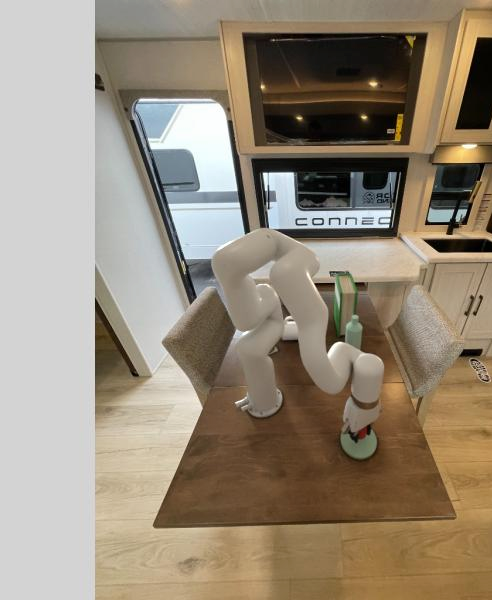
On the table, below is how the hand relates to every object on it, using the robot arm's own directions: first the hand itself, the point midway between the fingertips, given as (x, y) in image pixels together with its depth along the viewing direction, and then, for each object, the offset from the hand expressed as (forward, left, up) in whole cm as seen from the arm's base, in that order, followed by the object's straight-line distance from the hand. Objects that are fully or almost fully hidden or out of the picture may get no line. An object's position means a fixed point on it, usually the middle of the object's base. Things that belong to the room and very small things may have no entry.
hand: (360, 434), depth 79 cm
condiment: (-10, +53, -4) cm, 54 cm away
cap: (0, 0, 0) cm, 0 cm away
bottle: (+21, +33, -3) cm, 39 cm away
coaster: (0, 0, -3) cm, 3 cm away
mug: (+4, +54, -4) cm, 54 cm away
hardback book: (+29, +50, -4) cm, 58 cm away
